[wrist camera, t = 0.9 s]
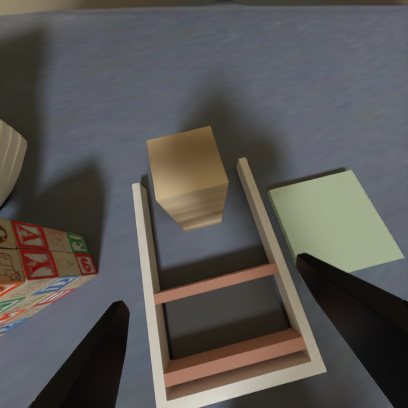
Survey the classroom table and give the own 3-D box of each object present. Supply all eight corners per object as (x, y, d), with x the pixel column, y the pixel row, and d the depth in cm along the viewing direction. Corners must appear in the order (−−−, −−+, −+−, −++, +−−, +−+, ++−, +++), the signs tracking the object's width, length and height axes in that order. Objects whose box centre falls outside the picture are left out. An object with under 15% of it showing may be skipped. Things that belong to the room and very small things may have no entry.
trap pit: (295, 337, 19) (307, 348, 16) (171, 371, 18) (165, 387, 16) (269, 262, 21) (276, 263, 19) (160, 290, 21) (153, 294, 18)
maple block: (220, 222, 23) (228, 182, 11) (185, 231, 23) (156, 200, 11) (211, 190, 25) (210, 125, 13) (178, 198, 25) (146, 140, 13)
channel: (311, 357, 18) (326, 371, 16) (165, 397, 18) (157, 418, 15) (242, 166, 26) (245, 157, 23) (139, 191, 25) (132, 184, 23)
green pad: (395, 257, 21) (404, 257, 20) (302, 282, 20) (306, 283, 19) (346, 173, 24) (351, 169, 24) (266, 193, 24) (268, 190, 23)
